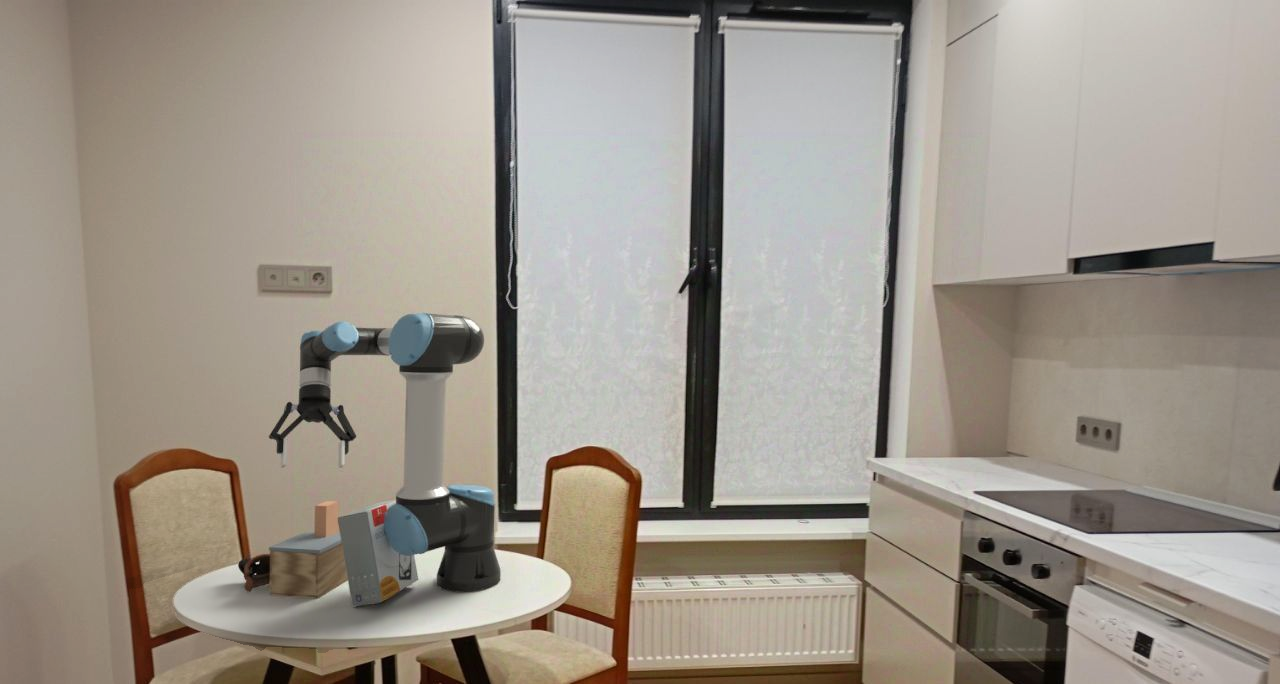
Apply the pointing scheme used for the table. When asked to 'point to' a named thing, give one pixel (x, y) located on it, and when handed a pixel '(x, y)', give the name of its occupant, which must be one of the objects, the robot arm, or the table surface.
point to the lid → (316, 532)
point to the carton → (306, 572)
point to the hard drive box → (373, 557)
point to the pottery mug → (255, 571)
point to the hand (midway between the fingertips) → (313, 466)
